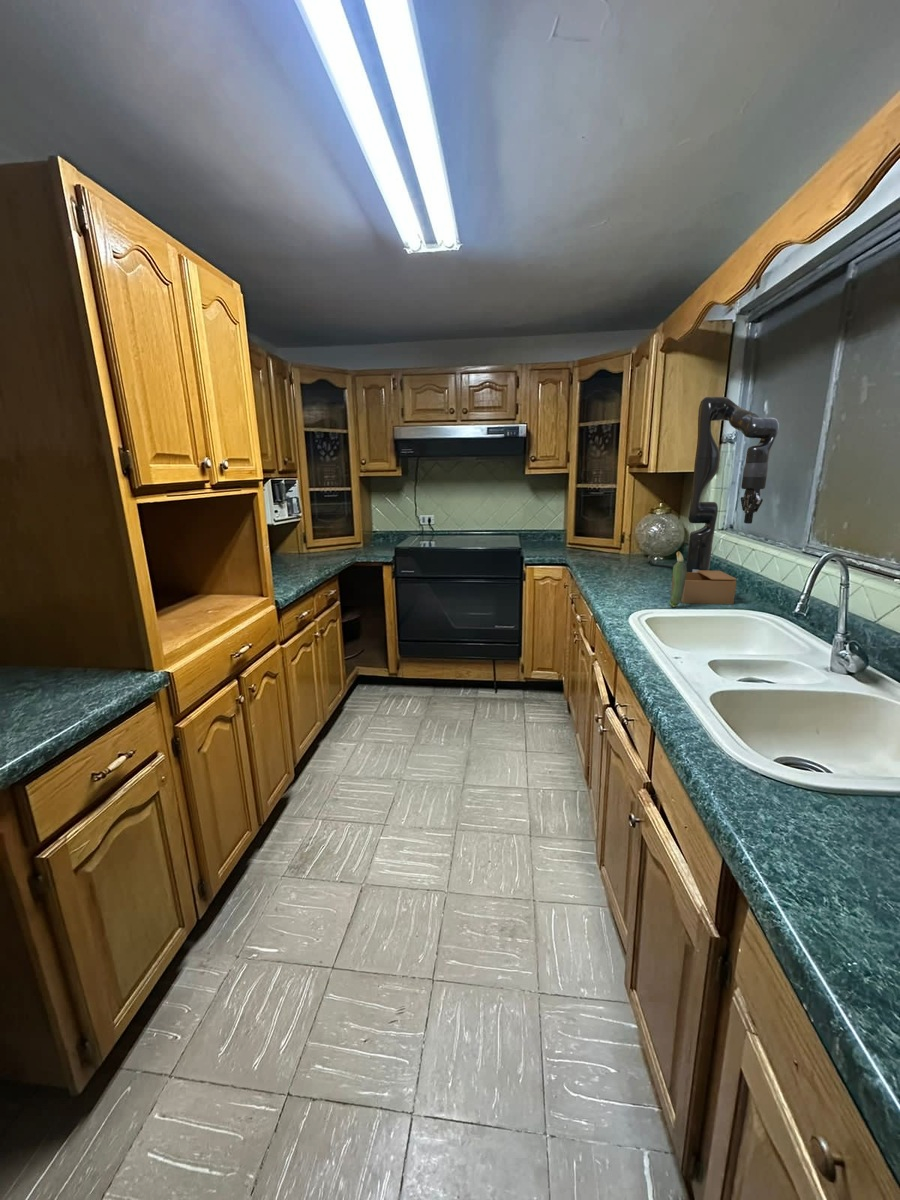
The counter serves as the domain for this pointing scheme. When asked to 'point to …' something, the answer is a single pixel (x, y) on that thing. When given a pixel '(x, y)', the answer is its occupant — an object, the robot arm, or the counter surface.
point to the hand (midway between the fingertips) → (747, 523)
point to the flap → (716, 575)
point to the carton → (707, 590)
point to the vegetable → (678, 580)
